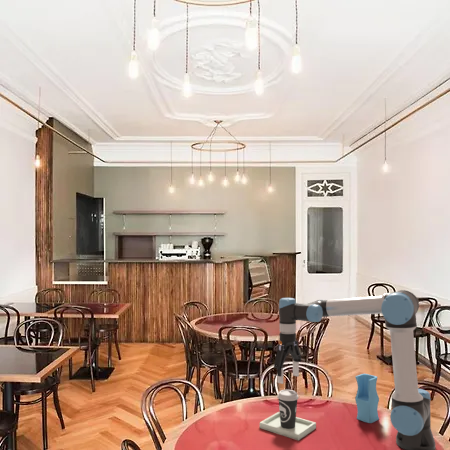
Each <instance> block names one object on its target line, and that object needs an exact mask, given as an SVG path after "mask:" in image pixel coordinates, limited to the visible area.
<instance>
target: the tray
mask: <svg viewBox="0 0 450 450" xmlns="http://www.w3.org/2000/svg"><path fill="white" fill-rule="evenodd" d="M316 428H317V422H315V421H311V420H309V419H304V418H301V417H299V416H298V417H297V416H296V422H295V428H292V429H285V428H282V427H281V423H280V411H277V412H275V413H274V414H272V415H270V416H268V417H266V418H265V419H263V420H262V421H260V422H259V429H262V430H264V431H268V432H271V433H274V434H277V435H280V436H282V437H283V436H284V437H285V438H289V439H293V440H294V441H295V440H296V441H300V440H301V439H303V438H304V437H306V436H307V435H308V434H310V433H311V432H313V431H314V430H316Z"/></svg>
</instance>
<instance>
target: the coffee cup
mask: <svg viewBox="0 0 450 450" xmlns="http://www.w3.org/2000/svg"><path fill="white" fill-rule="evenodd" d="M299 397H300V396H299V395H298V393H297V392H296V391H295V390H292V389H281V390H279V392H278V394H277V397H276V398H277V399H278V408H279V411H278V412H280V423H281V427H282V428H285V429H292V428H295V422H296V417H297V407H298V400H299Z"/></svg>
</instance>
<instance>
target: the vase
mask: <svg viewBox="0 0 450 450" xmlns="http://www.w3.org/2000/svg"><path fill="white" fill-rule="evenodd" d="M355 380H356V384H357V391H356V393H355V394H356V395H355V397H354V398H355V404H356V408H357V414H356V415H357V416H356V419H357V420H359V421H362V422H364V423H367V424H372V423H375V422H376V421H379V420H380V417H379V412H378V408H379V407H378V406H379V402H380V398H379V395H378V391H377V382H378V376H377V375H372V374H369V373H361V374H358V375H355Z"/></svg>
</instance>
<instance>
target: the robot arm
mask: <svg viewBox="0 0 450 450" xmlns="http://www.w3.org/2000/svg"><path fill="white" fill-rule="evenodd" d="M278 301H279V302H278V305H279V306H278V311H279V313H278V314H279V315H278V317H279V321H278V322H279V336H278V338H279V341H280V342H281V345H277V352H276V355H275V360H274V364H273V368H275V369H276V375H277V376H276V381H277V384H281V385H283V384H284V368H283V366H284V363H285V361H286V358H287V356H288V355H291V357H292V360H293V361H292V376H295V377H299V376H300V367H299V366H300V365H299V364H300V363H301V362H302V355H301V352H300V348H299V341H298V340H297V333H296V332H297V321H301V322H302V321H303V322H311V323H315V322H316V323H318V322H321V320H322V319H323V317H324V318H325V317H340V316H343V317H344V316H360V315H361V316H362V315H377V314H381V315H382V316H383V318H384V321H385V322H384V324H385V327H386V329H387V330H388V331H389V334H390V345H391V346H390V347H391V358H392V371H393V382H394V392H393V393H392V394H391V408H392V409H391V411H390V422H391V425H392V427H393V428H394V429H395V430H396V431H397V433H396V436H395V442H396V444H397V446H398V447H399V448H401V449H403V450H436V440H435V438H434V435H433V432H432V427H431V426H432V425H431V419H432V418H431V400H432V398H431V393H430V392H429V391H427V390H425V389H422V388H419V383H418V370H417V361H416V358H417V357H416V350H415V348H416V347H415V338H414V331H415V329H416V328H417V327H418V325H417V323H418V322H417V313H418V311H419V309H420V303H419V299H418V298H417V295H415V294H414V293H413V292H412V291H409V290H405V289H401V290H397V291H393V292H385V293H383V294H382V295H375V296H363V297H350V298H336V299H327V300H326V299H317V300H314V301H312V302H309V303H308V302H307V303H298V302H297V301H296V298H293V297H281V298H280V299H279V300H278ZM299 362H300V363H299Z"/></svg>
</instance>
